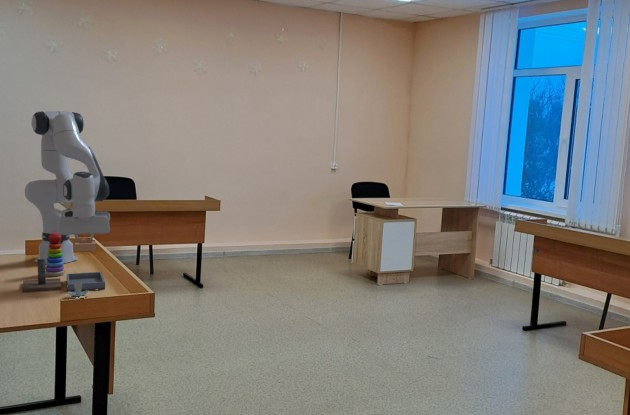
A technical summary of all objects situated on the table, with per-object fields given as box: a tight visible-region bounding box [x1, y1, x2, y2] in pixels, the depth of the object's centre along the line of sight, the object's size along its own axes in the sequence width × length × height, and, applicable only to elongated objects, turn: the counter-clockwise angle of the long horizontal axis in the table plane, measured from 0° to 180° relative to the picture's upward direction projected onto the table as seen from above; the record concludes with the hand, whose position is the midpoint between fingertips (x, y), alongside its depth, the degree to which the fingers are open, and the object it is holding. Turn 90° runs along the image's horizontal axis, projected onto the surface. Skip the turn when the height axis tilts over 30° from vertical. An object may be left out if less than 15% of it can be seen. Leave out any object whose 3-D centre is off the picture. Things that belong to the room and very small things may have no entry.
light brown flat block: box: [73, 238, 97, 253], centre depth 255 cm, size 12×8×3 cm, turn 23°
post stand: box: [21, 259, 62, 293], centre depth 251 cm, size 14×14×11 cm
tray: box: [66, 271, 106, 293], centre depth 257 cm, size 18×14×3 cm
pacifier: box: [67, 281, 89, 299], centre depth 239 cm, size 7×6×6 cm
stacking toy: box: [45, 232, 66, 277], centre depth 270 cm, size 8×8×19 cm
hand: (84, 244), depth 258 cm, fingers closed on light brown flat block, 2 cm apart
